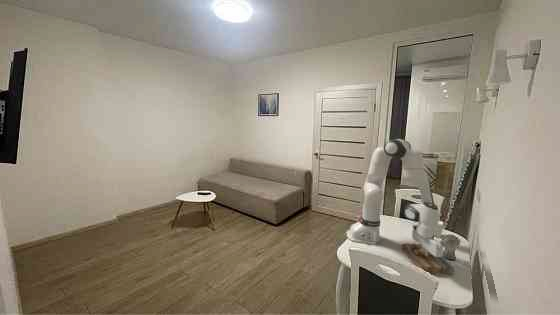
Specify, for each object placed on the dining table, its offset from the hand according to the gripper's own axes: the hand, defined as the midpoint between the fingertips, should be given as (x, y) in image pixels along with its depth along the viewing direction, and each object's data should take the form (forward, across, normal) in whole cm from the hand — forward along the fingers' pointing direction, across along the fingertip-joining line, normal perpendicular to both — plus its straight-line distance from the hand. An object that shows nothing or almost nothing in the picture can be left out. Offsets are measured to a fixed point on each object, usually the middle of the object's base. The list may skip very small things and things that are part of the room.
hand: (425, 255), depth 121 cm
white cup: (+5, +32, -29) cm, 44 cm away
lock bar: (+1, +3, -2) cm, 4 cm away
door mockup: (+5, +2, -2) cm, 6 cm away
